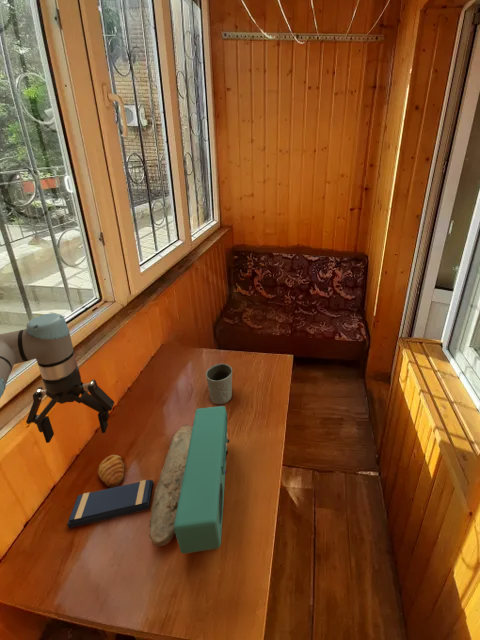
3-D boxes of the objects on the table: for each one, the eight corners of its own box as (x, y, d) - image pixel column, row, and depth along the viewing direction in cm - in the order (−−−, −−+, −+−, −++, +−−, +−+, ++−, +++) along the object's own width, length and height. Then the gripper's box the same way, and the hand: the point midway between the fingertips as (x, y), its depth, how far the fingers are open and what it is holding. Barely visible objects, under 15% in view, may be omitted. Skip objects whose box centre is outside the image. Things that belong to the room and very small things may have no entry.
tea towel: (68, 528, 82) (66, 522, 81) (79, 500, 89) (76, 494, 88) (149, 509, 87) (147, 503, 86) (153, 484, 93) (152, 477, 92)
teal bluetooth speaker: (224, 561, 76) (219, 521, 71) (180, 568, 74) (172, 528, 69) (231, 437, 107) (228, 404, 102) (200, 441, 106) (195, 407, 101)
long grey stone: (202, 431, 111) (173, 435, 110) (199, 419, 110) (171, 423, 109) (183, 545, 78) (142, 553, 77) (179, 530, 77) (137, 538, 76)
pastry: (130, 478, 94) (127, 470, 93) (105, 495, 90) (102, 486, 89) (120, 457, 101) (118, 448, 99) (97, 471, 96) (94, 463, 95)
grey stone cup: (207, 406, 120) (204, 382, 116) (209, 387, 129) (207, 364, 125) (233, 404, 121) (231, 379, 117) (234, 385, 131) (232, 362, 127)
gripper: (117, 355, 86) (129, 414, 93) (11, 368, 80) (33, 430, 87) (109, 374, 79) (123, 436, 86) (-7, 390, 73) (18, 455, 80)
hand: (78, 433), depth 86 cm, fingers open, 13 cm apart
